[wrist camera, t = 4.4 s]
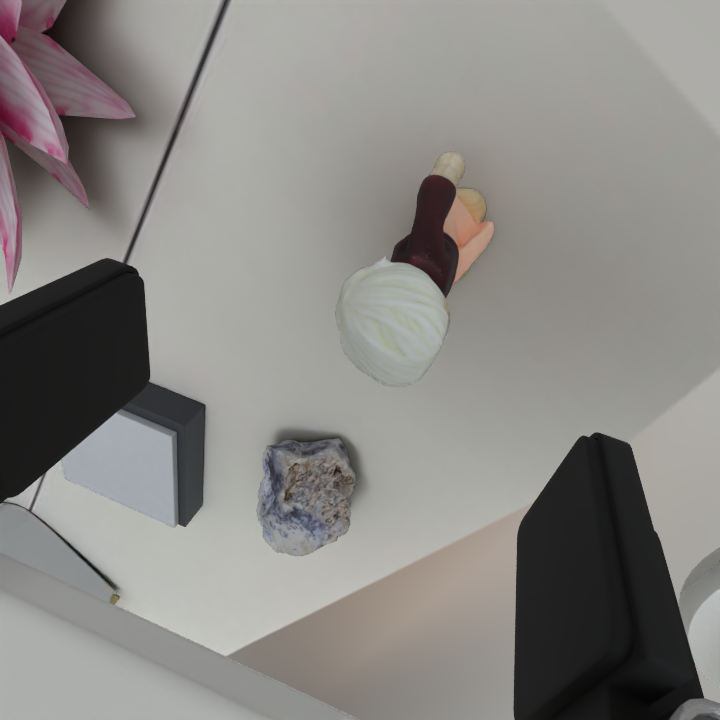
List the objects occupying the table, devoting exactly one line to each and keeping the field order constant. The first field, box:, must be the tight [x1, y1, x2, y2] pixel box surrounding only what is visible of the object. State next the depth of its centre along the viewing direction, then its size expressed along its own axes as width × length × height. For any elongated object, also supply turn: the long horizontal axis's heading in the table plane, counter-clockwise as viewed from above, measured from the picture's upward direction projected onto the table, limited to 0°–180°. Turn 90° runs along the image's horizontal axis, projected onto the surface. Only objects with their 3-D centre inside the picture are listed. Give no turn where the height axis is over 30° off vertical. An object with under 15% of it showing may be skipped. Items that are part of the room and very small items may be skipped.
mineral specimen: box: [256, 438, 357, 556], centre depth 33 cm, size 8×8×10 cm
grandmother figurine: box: [335, 151, 494, 387], centre depth 17 cm, size 8×4×13 cm, turn 1°
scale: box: [61, 382, 205, 528], centre depth 37 cm, size 12×12×3 cm
